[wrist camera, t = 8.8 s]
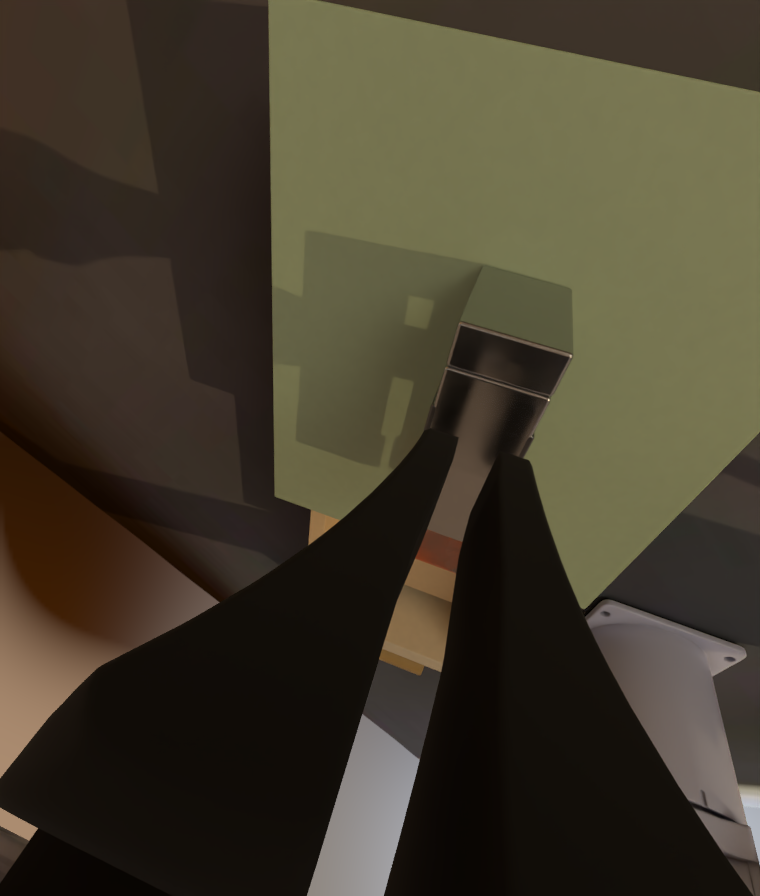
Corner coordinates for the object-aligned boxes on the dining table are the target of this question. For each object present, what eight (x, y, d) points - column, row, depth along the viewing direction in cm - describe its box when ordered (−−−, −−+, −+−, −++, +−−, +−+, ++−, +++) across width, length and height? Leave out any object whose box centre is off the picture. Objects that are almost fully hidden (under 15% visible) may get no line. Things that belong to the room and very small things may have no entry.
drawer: (471, 648, 33) (461, 710, 29) (315, 588, 34) (290, 640, 31) (593, 477, 20) (598, 553, 17) (336, 393, 21) (297, 449, 18)
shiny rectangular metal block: (478, 496, 16) (461, 576, 13) (416, 475, 16) (388, 549, 13) (575, 288, 10) (578, 356, 8) (481, 262, 11) (455, 320, 8)
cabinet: (581, 501, 22) (585, 609, 18) (328, 417, 24) (274, 497, 19) (858, 119, 12) (1040, 150, 7) (367, 16, 13) (267, -11, 9)
